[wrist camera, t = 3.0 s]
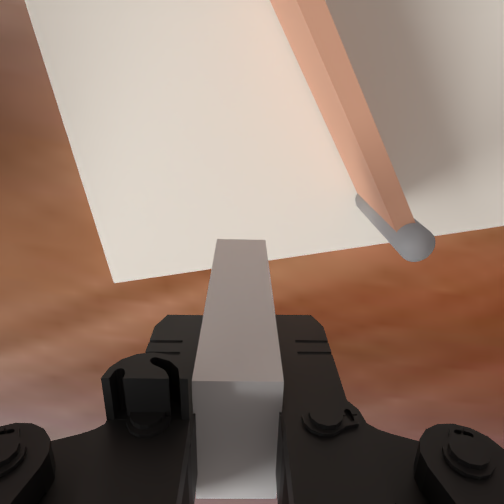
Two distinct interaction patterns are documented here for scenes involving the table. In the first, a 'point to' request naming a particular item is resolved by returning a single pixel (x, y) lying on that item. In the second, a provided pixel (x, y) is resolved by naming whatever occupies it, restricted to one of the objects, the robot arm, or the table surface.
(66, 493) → the robot arm
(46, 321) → the table surface
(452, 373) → the table surface
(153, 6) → the board
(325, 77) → the fence panel
